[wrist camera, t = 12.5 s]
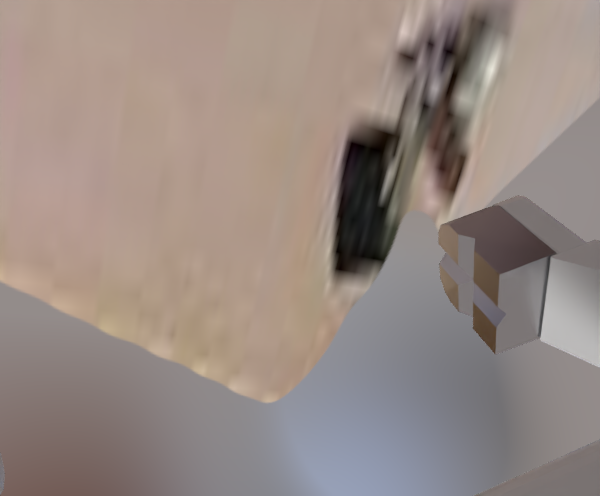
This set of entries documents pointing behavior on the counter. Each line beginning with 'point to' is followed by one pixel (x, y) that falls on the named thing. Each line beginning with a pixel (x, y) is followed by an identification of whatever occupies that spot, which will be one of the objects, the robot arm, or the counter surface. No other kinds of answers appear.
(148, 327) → the counter surface
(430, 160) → the counter surface
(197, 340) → the counter surface
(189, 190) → the counter surface
